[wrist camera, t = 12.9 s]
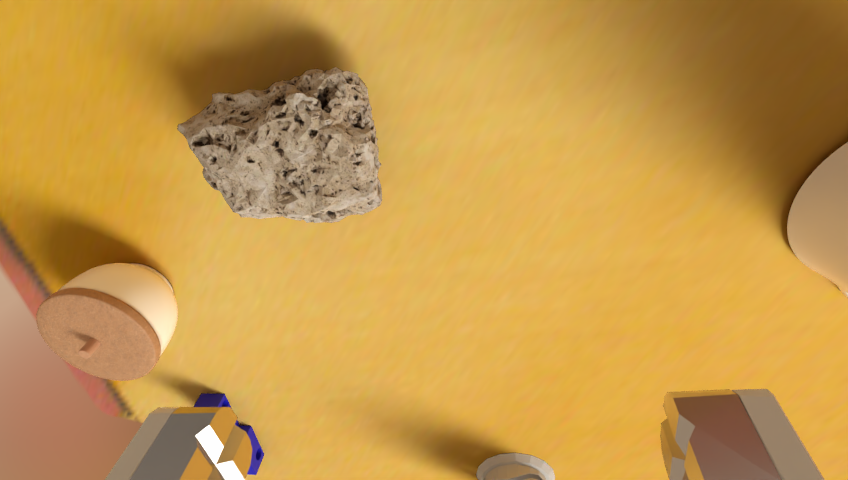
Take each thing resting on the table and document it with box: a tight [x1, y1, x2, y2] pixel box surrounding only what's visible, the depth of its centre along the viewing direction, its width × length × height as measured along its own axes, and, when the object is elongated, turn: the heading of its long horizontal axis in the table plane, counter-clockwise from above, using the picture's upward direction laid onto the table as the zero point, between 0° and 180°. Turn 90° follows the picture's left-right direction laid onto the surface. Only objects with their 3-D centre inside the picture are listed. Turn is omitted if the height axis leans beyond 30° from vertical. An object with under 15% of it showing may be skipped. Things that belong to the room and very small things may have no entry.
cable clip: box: [194, 394, 264, 475], centre depth 61 cm, size 12×4×6 cm, turn 6°
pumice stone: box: [178, 67, 382, 223], centre depth 36 cm, size 14×12×8 cm
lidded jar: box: [37, 263, 178, 381], centre depth 47 cm, size 11×11×9 cm
